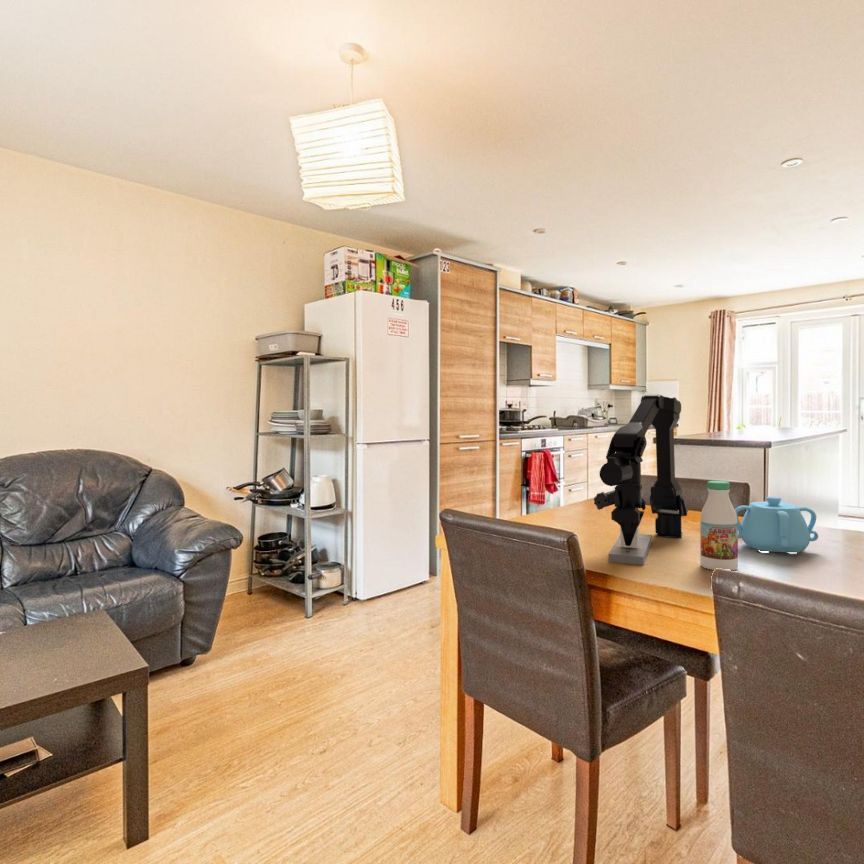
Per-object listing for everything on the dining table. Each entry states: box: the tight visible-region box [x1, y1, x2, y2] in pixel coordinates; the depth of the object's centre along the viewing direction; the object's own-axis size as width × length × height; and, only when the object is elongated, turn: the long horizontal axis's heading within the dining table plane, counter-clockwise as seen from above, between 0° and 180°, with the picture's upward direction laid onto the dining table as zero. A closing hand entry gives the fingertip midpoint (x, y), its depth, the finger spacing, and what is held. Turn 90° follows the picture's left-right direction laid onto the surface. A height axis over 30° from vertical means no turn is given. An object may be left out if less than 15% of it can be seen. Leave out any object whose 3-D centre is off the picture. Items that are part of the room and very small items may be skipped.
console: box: [607, 533, 653, 566], centre depth 144 cm, size 8×24×2 cm, turn 154°
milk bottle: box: [699, 480, 739, 571], centre depth 128 cm, size 8×8×20 cm
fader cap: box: [619, 526, 640, 548], centre depth 141 cm, size 4×3×5 cm
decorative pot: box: [734, 496, 819, 553], centre depth 142 cm, size 16×16×14 cm
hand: (629, 542), depth 141 cm, fingers open, 6 cm apart
